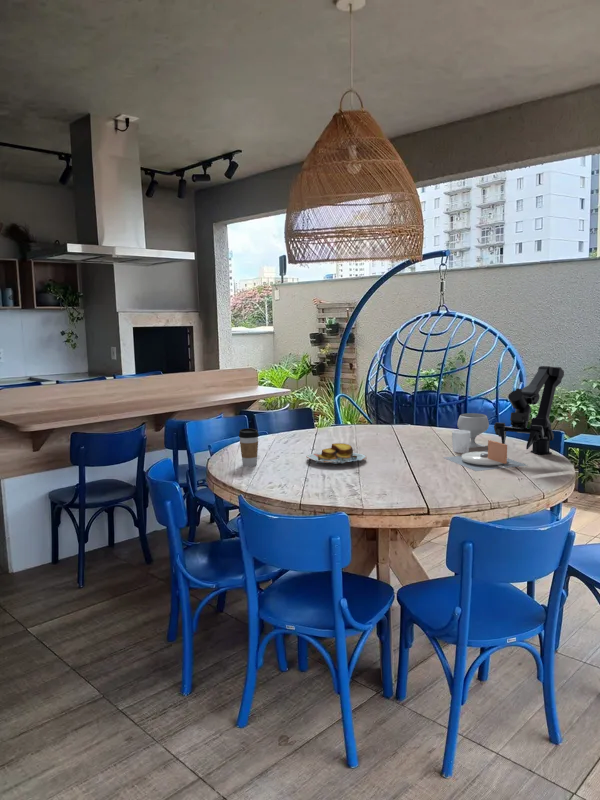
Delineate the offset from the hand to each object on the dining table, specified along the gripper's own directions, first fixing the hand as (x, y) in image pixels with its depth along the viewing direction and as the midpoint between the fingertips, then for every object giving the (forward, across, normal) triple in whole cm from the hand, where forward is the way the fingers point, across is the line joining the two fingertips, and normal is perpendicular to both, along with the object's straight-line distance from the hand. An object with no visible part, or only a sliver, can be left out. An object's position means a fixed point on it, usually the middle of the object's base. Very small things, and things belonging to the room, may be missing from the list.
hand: (514, 447), depth 245 cm
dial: (+5, -12, +5) cm, 14 cm away
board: (+6, -12, +6) cm, 15 cm away
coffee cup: (+38, -98, -27) cm, 108 cm away
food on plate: (+22, -69, -11) cm, 73 cm away
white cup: (-4, -26, +16) cm, 31 cm away
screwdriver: (-10, -15, +22) cm, 28 cm away
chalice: (-14, -25, +27) cm, 40 cm away
